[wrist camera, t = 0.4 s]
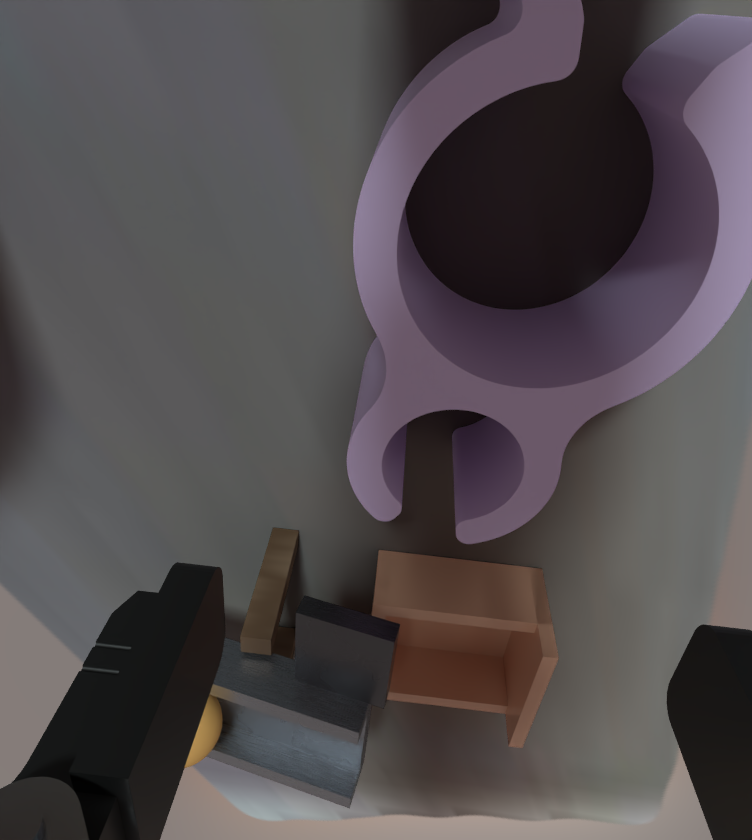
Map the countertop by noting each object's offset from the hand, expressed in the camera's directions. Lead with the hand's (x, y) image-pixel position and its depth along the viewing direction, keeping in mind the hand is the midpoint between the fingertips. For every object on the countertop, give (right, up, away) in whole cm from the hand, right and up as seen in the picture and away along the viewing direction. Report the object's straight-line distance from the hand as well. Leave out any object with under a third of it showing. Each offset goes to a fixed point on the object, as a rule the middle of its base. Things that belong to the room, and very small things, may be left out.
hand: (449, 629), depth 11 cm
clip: (+4, +11, +16) cm, 20 cm away
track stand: (-7, -7, +29) cm, 30 cm away
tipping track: (-7, -9, +21) cm, 24 cm away
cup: (+3, -8, +28) cm, 30 cm away
